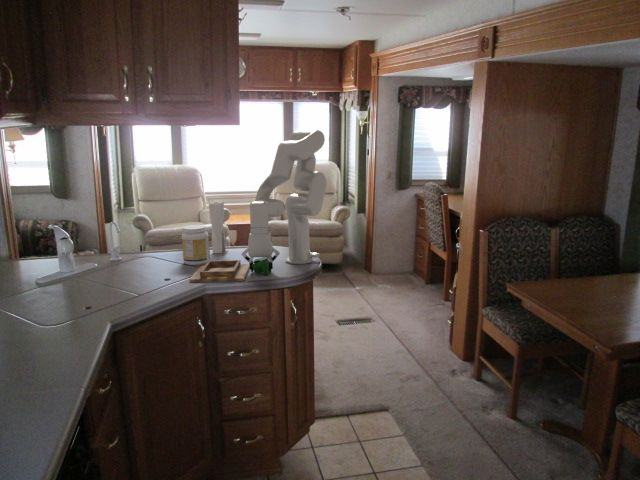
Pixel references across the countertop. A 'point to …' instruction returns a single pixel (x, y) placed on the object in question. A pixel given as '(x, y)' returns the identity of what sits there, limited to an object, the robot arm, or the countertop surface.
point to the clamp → (261, 266)
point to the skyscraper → (217, 226)
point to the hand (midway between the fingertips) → (261, 270)
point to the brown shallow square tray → (221, 271)
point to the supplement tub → (195, 245)
